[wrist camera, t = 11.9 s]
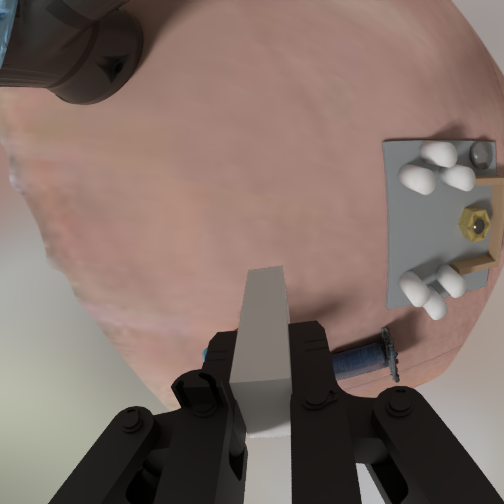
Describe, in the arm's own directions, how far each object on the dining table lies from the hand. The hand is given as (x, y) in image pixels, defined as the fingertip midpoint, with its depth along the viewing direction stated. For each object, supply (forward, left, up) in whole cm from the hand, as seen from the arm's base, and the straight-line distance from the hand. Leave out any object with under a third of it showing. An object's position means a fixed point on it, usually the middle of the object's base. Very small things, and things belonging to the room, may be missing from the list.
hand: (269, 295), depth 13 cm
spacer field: (+7, +25, -24) cm, 36 cm away
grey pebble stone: (-3, +31, -24) cm, 39 cm away
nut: (+7, +29, -24) cm, 38 cm away
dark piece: (+27, +11, -25) cm, 38 cm away
